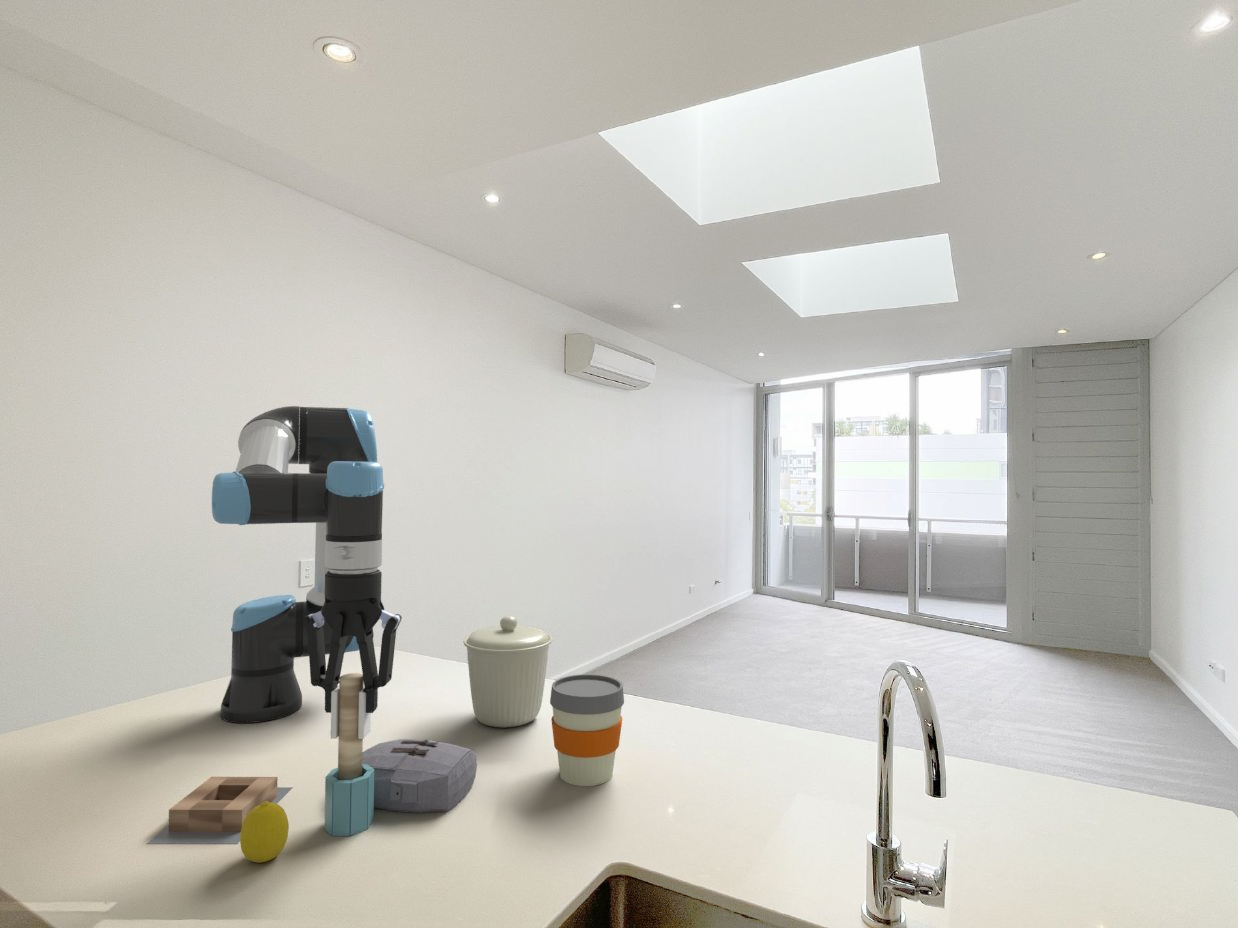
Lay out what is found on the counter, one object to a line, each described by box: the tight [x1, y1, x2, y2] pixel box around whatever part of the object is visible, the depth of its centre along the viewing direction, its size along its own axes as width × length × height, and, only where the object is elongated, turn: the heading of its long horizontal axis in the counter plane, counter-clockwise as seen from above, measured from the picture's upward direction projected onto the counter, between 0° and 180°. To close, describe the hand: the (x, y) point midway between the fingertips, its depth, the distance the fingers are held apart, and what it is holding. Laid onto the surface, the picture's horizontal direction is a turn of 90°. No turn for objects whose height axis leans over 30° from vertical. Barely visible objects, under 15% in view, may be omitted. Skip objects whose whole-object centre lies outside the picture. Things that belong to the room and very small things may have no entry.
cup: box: [324, 764, 375, 837], centre depth 95 cm, size 6×6×8 cm
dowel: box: [337, 672, 364, 780], centre depth 95 cm, size 3×3×17 cm
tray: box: [145, 786, 294, 845], centre depth 98 cm, size 16×12×1 cm
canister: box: [462, 615, 553, 728], centre depth 138 cm, size 18×18×21 cm
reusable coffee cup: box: [549, 673, 625, 787], centre depth 114 cm, size 13×13×15 cm
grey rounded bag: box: [362, 738, 478, 814], centre depth 105 cm, size 15×8×20 cm
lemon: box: [239, 801, 290, 864], centre depth 87 cm, size 6×6×8 cm
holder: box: [168, 776, 278, 832], centre depth 98 cm, size 10×10×3 cm
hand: (350, 734), depth 95 cm, fingers closed on dowel, 3 cm apart
